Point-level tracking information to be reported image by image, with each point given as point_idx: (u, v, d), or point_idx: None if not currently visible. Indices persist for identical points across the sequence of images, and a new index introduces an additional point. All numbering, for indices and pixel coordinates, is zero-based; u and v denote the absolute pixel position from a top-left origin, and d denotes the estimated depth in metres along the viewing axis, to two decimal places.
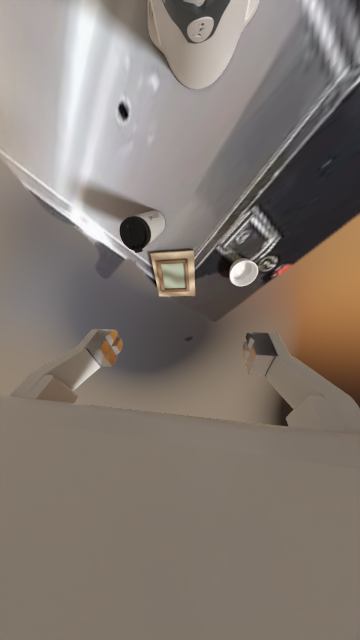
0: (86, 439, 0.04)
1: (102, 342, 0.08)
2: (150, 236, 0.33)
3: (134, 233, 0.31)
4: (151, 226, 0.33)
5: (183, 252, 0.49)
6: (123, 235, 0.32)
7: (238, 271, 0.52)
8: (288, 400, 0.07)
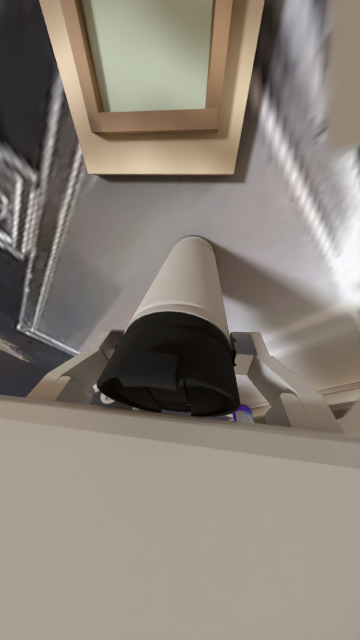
0: (86, 439, 0.04)
1: (116, 342, 0.08)
2: None
3: (167, 395, 0.07)
4: None
5: (118, 169, 0.15)
6: (221, 401, 0.07)
7: None
8: (267, 398, 0.07)
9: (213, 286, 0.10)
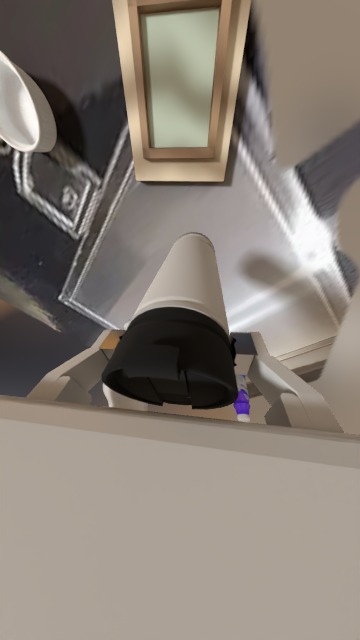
0: (86, 439, 0.04)
1: (116, 342, 0.08)
2: None
3: (169, 387, 0.07)
4: None
5: (155, 178, 0.25)
6: (221, 393, 0.07)
7: (30, 108, 0.22)
8: (267, 398, 0.07)
9: (213, 283, 0.10)
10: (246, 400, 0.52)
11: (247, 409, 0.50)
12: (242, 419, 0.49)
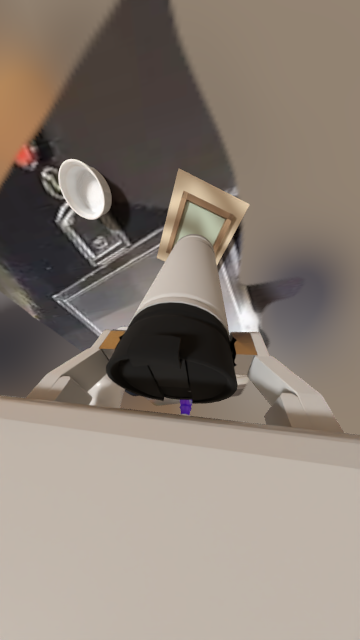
0: (86, 439, 0.04)
1: (116, 342, 0.08)
2: None
3: (170, 380, 0.07)
4: None
5: None
6: (220, 386, 0.07)
7: (96, 191, 0.31)
8: (267, 398, 0.07)
9: (213, 281, 0.10)
10: (189, 404, 0.71)
11: (189, 411, 0.69)
12: None
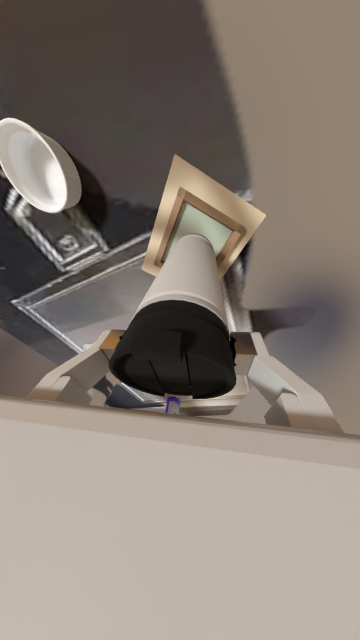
0: (86, 439, 0.04)
1: (116, 342, 0.08)
2: None
3: (171, 376, 0.08)
4: None
5: None
6: (220, 381, 0.07)
7: (59, 174, 0.22)
8: (267, 398, 0.07)
9: (213, 280, 0.11)
10: None
11: None
12: None
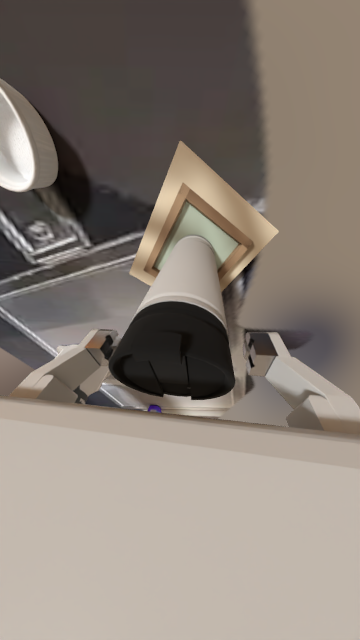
0: (86, 439, 0.04)
1: (102, 342, 0.08)
2: None
3: (170, 377, 0.08)
4: None
5: (147, 282, 0.26)
6: (219, 382, 0.07)
7: (27, 142, 0.17)
8: (288, 400, 0.07)
9: (212, 281, 0.11)
10: None
11: None
12: None
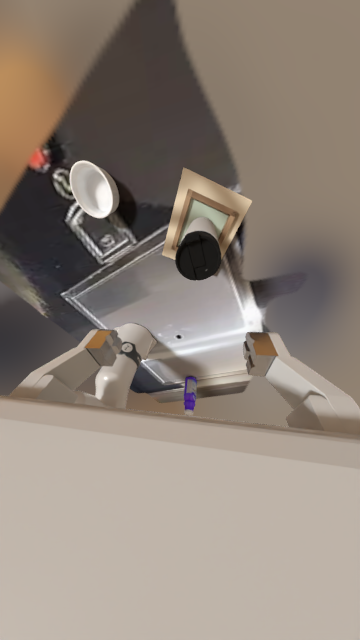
0: (86, 439, 0.04)
1: (102, 342, 0.08)
2: None
3: (197, 261, 0.20)
4: None
5: (174, 258, 0.39)
6: (216, 257, 0.19)
7: (104, 191, 0.32)
8: (288, 400, 0.07)
9: (210, 228, 0.23)
10: (193, 400, 0.72)
11: (192, 406, 0.70)
12: (187, 413, 0.69)
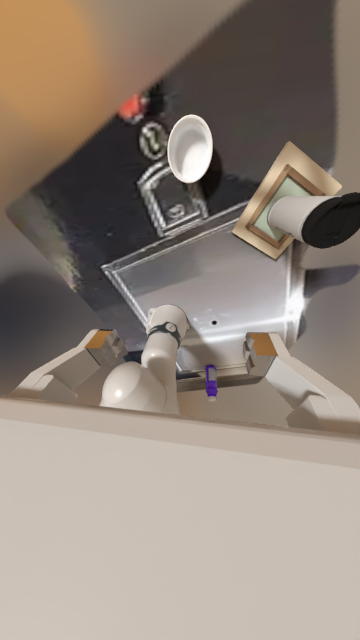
0: (86, 439, 0.04)
1: (102, 342, 0.08)
2: (308, 217, 0.22)
3: (334, 226, 0.20)
4: (296, 229, 0.24)
5: (243, 237, 0.39)
6: (356, 224, 0.20)
7: (195, 155, 0.31)
8: (288, 400, 0.07)
9: None
10: (216, 388, 0.73)
11: (216, 393, 0.72)
12: (211, 399, 0.70)
